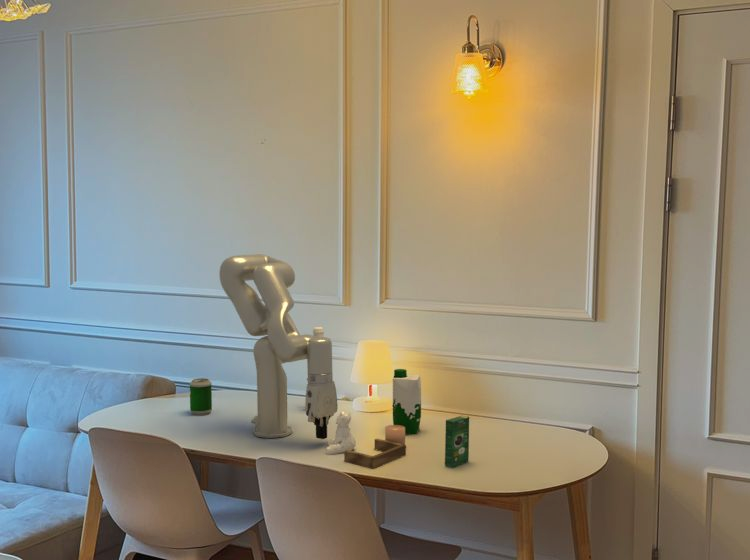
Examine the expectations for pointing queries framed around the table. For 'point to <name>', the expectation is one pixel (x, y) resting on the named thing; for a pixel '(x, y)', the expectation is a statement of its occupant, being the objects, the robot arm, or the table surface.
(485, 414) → the table surface
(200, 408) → the soda can
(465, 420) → the coffee box
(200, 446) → the table surface
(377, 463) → the display bay
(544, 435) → the table surface
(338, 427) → the white creature statuette
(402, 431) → the tan rounded cylinder
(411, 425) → the milk carton
